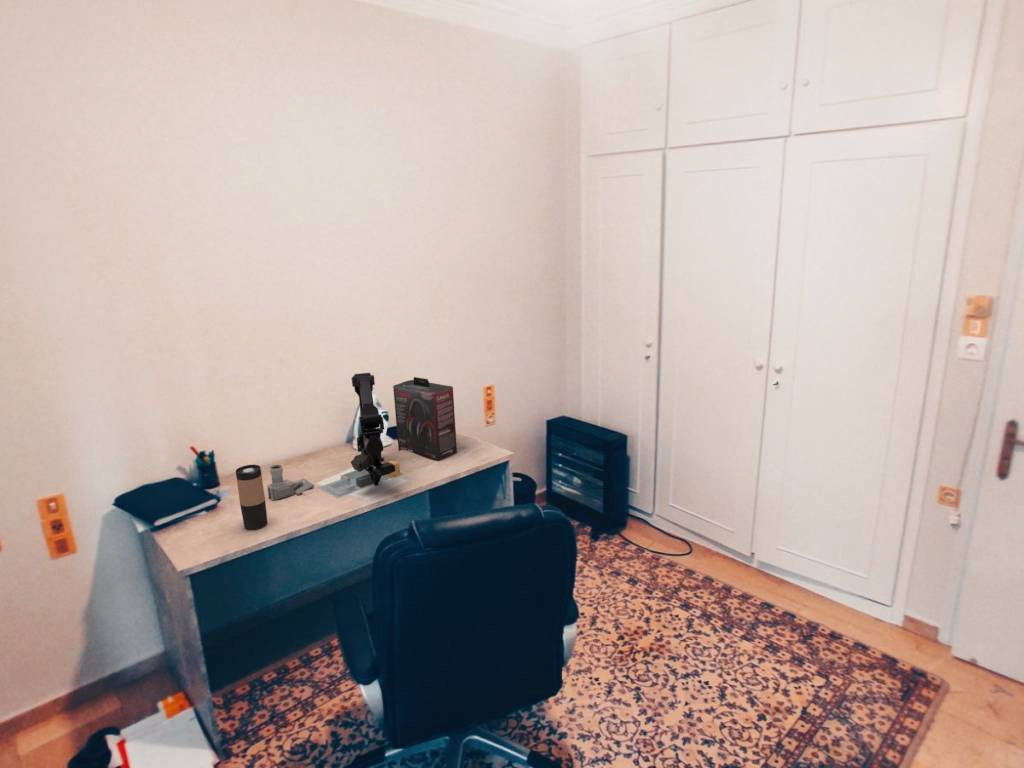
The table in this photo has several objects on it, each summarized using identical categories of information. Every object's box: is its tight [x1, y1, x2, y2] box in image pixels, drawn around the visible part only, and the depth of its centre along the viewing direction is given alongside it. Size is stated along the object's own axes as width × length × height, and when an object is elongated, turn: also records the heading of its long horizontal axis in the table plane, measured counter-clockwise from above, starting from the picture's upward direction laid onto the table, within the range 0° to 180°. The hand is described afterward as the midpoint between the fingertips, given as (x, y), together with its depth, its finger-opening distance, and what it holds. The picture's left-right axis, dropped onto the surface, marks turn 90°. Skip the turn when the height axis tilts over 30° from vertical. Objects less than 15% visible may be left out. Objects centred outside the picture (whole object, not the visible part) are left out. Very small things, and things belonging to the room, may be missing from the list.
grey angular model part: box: [266, 464, 315, 502], centre depth 227 cm, size 9×12×15 cm
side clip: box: [340, 469, 369, 485], centre depth 236 cm, size 5×10×2 cm, turn 136°
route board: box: [317, 472, 404, 499], centre depth 235 cm, size 14×29×4 cm, turn 136°
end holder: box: [326, 480, 356, 496], centre depth 227 cm, size 8×7×2 cm
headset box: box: [392, 376, 458, 461], centre depth 262 cm, size 25×12×33 cm, turn 53°
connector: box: [386, 460, 401, 479], centre depth 239 cm, size 4×4×5 cm
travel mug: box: [235, 464, 268, 531], centre depth 201 cm, size 8×8×20 cm
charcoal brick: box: [356, 474, 373, 488], centre depth 232 cm, size 3×7×3 cm, turn 136°
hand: (376, 485), depth 227 cm, fingers closed
